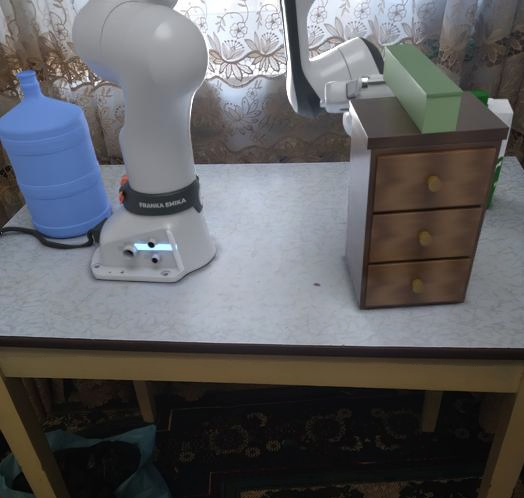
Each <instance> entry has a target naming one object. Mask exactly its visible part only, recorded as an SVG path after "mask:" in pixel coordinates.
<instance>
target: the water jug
mask: <svg viewBox="0 0 524 498" xmlns="http://www.w3.org/2000/svg"><path fill="white" fill-rule="evenodd" d="M36 74H37V72H36V71H35V70H32V69H31V70H29V69H27V70H23V71H19V72H16V74H15V76H16V78H18V82H19V87H20V89H21V91H22V94H23V99H22V101H20V102H19V103H17V104H16V105H15V106H14V107H12V108H11V109H10V110H9V111H8V112H6V113H5V114H4V115H2V116H1V117H0V142H1V144H2V147H3V149H4V151H5V152H6V155H7V157H8V160H9V162H10V165H11V167H12V170H13V172H14V175H15V180H16V183H17V186H18V188H19V190H20V192H21V194H22V197H23V199H24V201H25V205H26V206H27V210H28V211H29V214H30V217H31V222H32V225H33V226H34V229H35V230H36V231H38V232H39V233H40V234H41V235H42V236H45V237H48V238H55V239H67V238H68V239H69V238H75V237H79V236H83V235H87V232H88V231H89V230H90V229H92V228H94V227H95V226H96V225H97V224H99V223H100V222H101V221H102V220H103V219H104V218H109V217H110V216H111V215H112V206H111V202H110V200H109V198H108V196H107V191H106V188H105V184H104V180H103V178H102V171H101V167H100V164H99V163H100V162H99V161H98V158H97V154H96V151H95V148H94V145H93V140H92V137H91V131H90V127H89V124H88V121H87V118H86V115H85V112H84V110H83V108H82V107H81V106H79V105H78V104H75V103H72V102H67V101H64V100H60V99H57V98H52V97H48V96H45V95H44V94H43V92H42V90H41V86H40V82H39V81H38V80H37V79H38V78H37V76H36Z"/></svg>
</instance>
